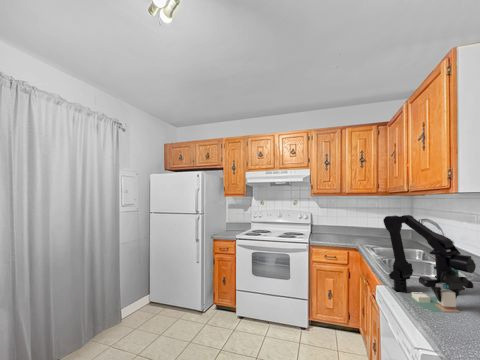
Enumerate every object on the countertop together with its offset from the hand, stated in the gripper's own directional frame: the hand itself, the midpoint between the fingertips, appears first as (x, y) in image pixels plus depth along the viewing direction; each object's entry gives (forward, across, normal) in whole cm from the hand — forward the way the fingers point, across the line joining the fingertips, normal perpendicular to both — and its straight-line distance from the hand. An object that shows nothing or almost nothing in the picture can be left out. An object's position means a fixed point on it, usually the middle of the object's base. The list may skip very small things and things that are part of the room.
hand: (446, 301), depth 106 cm
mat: (+3, -4, +4) cm, 7 cm away
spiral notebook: (+3, -6, +8) cm, 11 cm away
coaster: (+3, 0, 0) cm, 3 cm away
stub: (+1, 0, 0) cm, 1 cm away
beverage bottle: (+4, +13, +18) cm, 22 cm away
